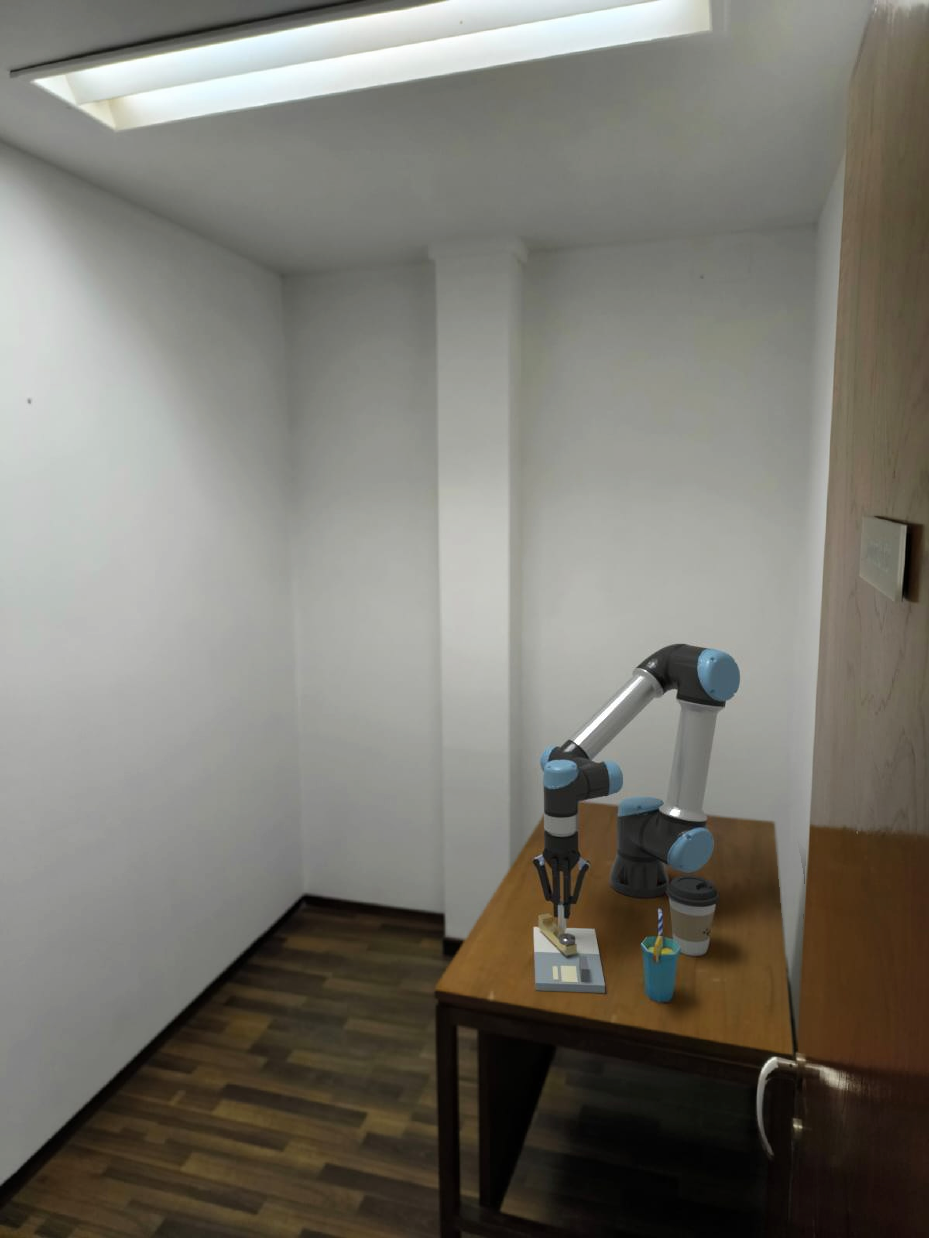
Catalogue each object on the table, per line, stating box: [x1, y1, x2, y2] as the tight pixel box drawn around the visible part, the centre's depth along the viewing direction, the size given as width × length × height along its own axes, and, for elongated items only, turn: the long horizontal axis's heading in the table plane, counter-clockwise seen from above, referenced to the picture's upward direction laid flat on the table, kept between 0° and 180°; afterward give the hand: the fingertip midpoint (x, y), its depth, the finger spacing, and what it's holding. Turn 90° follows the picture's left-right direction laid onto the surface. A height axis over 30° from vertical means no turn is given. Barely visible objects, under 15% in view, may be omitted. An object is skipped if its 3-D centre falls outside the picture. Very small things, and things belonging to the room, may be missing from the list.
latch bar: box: [537, 913, 577, 956], centre depth 180 cm, size 13×4×3 cm, turn 22°
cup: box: [640, 908, 681, 1003], centre depth 163 cm, size 14×8×15 cm, turn 168°
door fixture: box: [533, 926, 606, 994], centre depth 176 cm, size 14×23×4 cm, turn 176°
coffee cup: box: [665, 874, 720, 957], centre depth 181 cm, size 11×11×15 cm
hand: (562, 930), depth 184 cm, fingers closed
